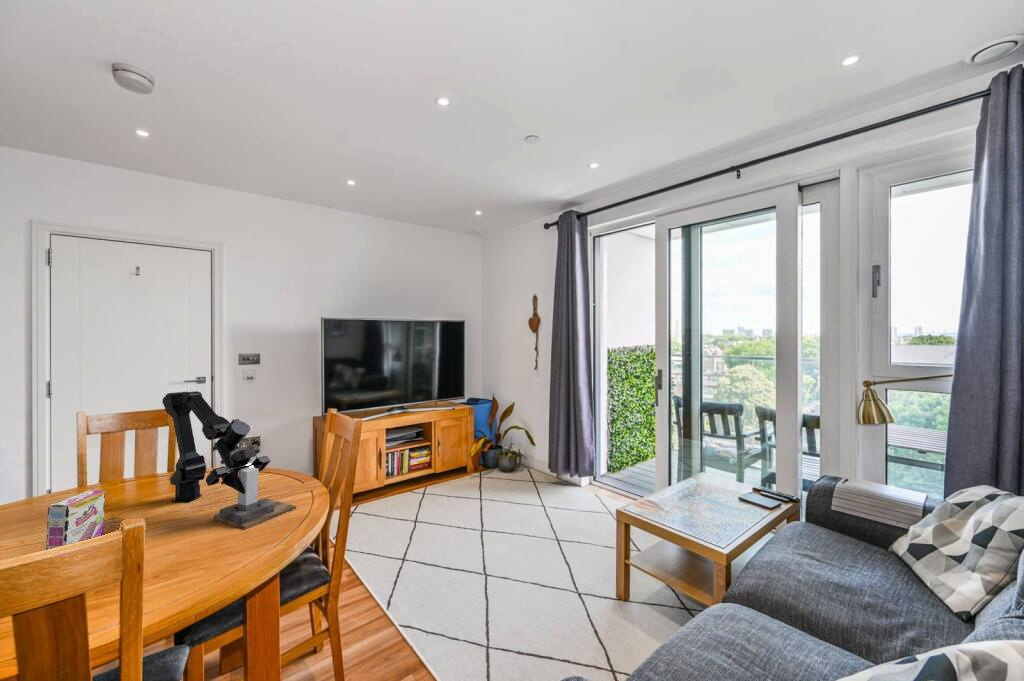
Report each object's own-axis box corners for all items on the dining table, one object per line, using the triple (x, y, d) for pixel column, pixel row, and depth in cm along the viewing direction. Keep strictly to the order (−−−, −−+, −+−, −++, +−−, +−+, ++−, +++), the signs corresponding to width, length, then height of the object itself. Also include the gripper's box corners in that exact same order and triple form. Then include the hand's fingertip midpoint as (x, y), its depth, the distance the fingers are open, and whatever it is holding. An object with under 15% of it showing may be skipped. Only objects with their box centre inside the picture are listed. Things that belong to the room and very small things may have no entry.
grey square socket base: (213, 519, 138) (213, 508, 138) (264, 500, 155) (265, 491, 155) (245, 529, 132) (245, 518, 132) (296, 509, 148) (296, 499, 148)
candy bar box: (65, 571, 107) (67, 505, 106) (44, 571, 106) (45, 505, 106) (104, 548, 118) (106, 489, 118) (85, 549, 117) (86, 489, 117)
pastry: (123, 537, 125) (123, 524, 125) (91, 543, 121) (91, 530, 121) (127, 525, 132) (127, 513, 132) (97, 531, 128) (97, 518, 128)
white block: (237, 512, 139) (238, 470, 139) (249, 508, 143) (250, 466, 143) (245, 515, 138) (246, 472, 138) (257, 510, 141) (258, 468, 141)
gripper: (212, 444, 133) (234, 485, 129) (267, 432, 150) (288, 468, 146) (196, 465, 137) (216, 506, 132) (252, 451, 154) (272, 487, 149)
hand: (250, 490), depth 140 cm, fingers closed on white block, 4 cm apart
